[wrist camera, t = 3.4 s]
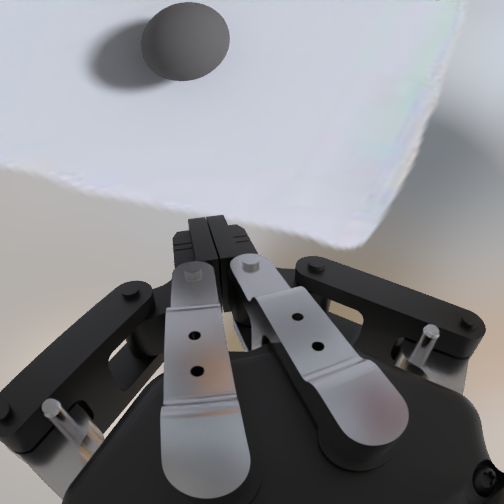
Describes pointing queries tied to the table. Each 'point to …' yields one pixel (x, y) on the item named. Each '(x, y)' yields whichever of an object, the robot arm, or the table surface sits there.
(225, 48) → the gray ball
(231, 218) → the table surface
